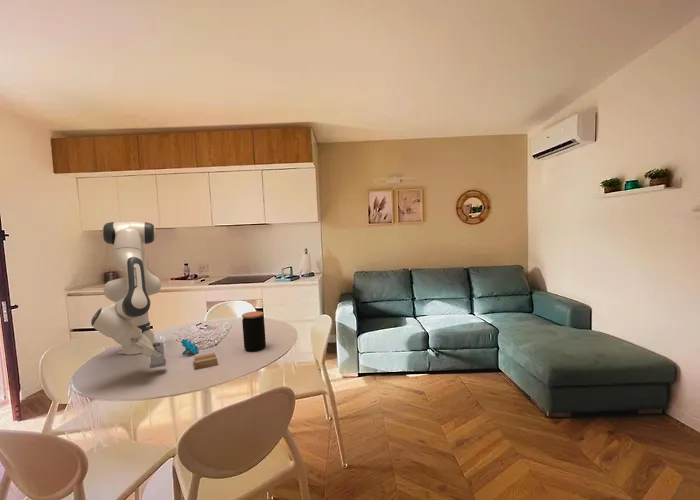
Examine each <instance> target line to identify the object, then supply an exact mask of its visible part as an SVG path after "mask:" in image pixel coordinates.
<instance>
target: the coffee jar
mask: <svg viewBox="0 0 700 500" xmlns="http://www.w3.org/2000/svg"><path fill="white" fill-rule="evenodd" d="M264 314H265V313H264V311H260V310H259V311H257V310H255V311H248V312H245V313H242V315H241V317H242V320H241V324H242V335H243V337H242V338H243V346H244V347H243V348H244V350H245V351H246V352H249V353H254V352H260V351H263V350H264V349H265V348H266V345H267V342H266V328H265V327H266V326H265V316H264Z"/></svg>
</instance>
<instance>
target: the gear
mask: <svg viewBox="0 0 700 500" xmlns="http://www.w3.org/2000/svg"><path fill="white" fill-rule="evenodd" d="M181 346H182V347H184V349H185V350H184V351H183V352H182V355H185V354H186V353H187V352H189V353H192V354H193V355H195V354H198V353H199V351H200V350H199V349H198V348H199V347H198V346H197V345H196V342H192V341H191V340H188V339H187V338H183V339H182V340H181Z"/></svg>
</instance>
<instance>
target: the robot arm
mask: <svg viewBox="0 0 700 500" xmlns="http://www.w3.org/2000/svg"><path fill="white" fill-rule="evenodd" d="M101 237H102V239H103V241H104V242H105V243H106V244H108V245H113V248H112V249H113V250H112V251H113V253H112V254H113V256H112V258H113V259H112V260H113V264H114V266H115V267H116V268H117V269H119V270H120V271H123V272H125V273H126V277H121V278H116V279H111V280H109V281H107V282H106V283H105V284H104V287H103V294H104V296H105V298H107V299H108V300H109V301H111V302H113V303H112V304H110V305H108V306H105V307H101V308H99V309H98V310H97V311H96V312H95V313H94V315H93V316H92V318H91V322H90V323H91V326H92V327H93V329H95V330H96V331H97V332H99V333H100V334H102V335H104V336H105V337H107V338H111V339H112V340H113V341H115V343H116V344H119V345H120V346H121V349H120V350H118V351H117V352H118V354H119V355H137V354H138V355H139V354H142V355H144V356H146V358H147V357H148V358H150V356H151V355H154V356H156V357H158V358H159V357H160V356H161V353H159V352H157V351H156V350H155V349H154V347H153V345H152V344H153V343H157V342H158V341H157V339H156V337H155V332H154V331H153V330H152V329H151V322H150V319H149V310H150V307H151V299H150V296H152V295H155V294H158V293H159V292H160V290H161V287H162V282H161V279H160V278H159V277H157V276H156V275H154V274H153V273H152V272H150V271H149V269H148V267H147V264H146V258H145V257H146V254H145V245H148V244H151V243H153V242H154V241H155V239H156V237H157V229H156V227H155V225H154V224H153V223H151V222H146V221H145V222H141V221H117V222H114V221H110V222H106V223H105V224H104V225H103V227H102V230H101Z"/></svg>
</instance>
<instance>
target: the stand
mask: <svg viewBox="0 0 700 500" xmlns="http://www.w3.org/2000/svg"><path fill="white" fill-rule="evenodd" d="M193 359H194V361H193V370H194V371H196V370H201V369H206V368H211V367H216V366H219V362H218V358H217V355H216V353H215V352H210V353H206V354H201V355H195V356H194V357H193Z"/></svg>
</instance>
